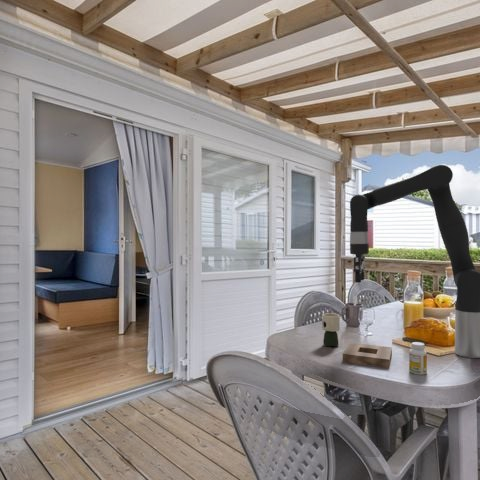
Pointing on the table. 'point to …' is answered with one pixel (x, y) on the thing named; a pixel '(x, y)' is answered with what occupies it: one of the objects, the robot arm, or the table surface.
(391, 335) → the table surface
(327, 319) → the character mug
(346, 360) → the walnut bottle holder
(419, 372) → the supplement bottle
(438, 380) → the table surface
